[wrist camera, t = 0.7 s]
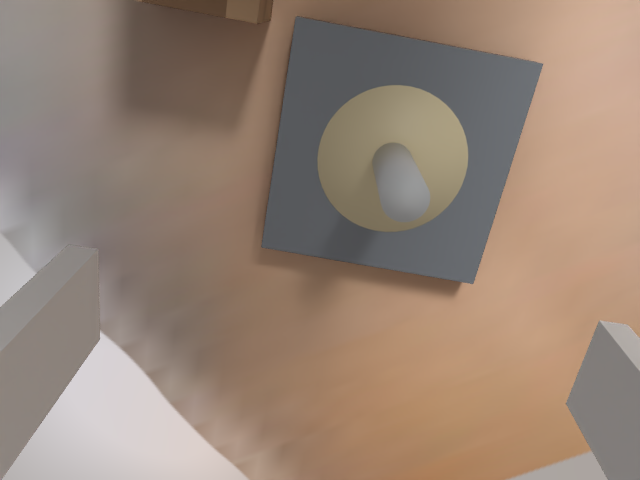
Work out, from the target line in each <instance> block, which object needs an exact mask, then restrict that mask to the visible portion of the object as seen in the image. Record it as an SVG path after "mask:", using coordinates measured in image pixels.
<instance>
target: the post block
mask: <svg viewBox="0 0 640 480" xmlns="http://www.w3.org/2000/svg"><path fill="white" fill-rule="evenodd" d="M542 66H543V64H541V63H538V62H534V61H529V60H524V59H519V58H513V57H508V56H503V55H498V54H493V53H487V52H482V51H477V50H472V49H466V48H461V47H456V46H451V45H445V44H440V43H435V42H430V41H425V40H419V39H414V38H409V37H404V36H398V35H393V34H388V33H383V32H377V31H372V30H367V29H362V28H357V27H351V26H346V25H341V24H336V23H330V22H325V21H320V20H315V19H309V18H304V17H299V16H297V17H296V19H295V25H294V32H293V39H292V45H291V52H290V59H289V66H288V72H287V79H286V86H285V92H284V99H283V106H282V112H281V119H280V126H279V132H278V139H277V146H276V153H275V159H274V166H273V173H272V179H271V186H270V193H269V199H268V206H267V213H266V219H265V226H264V233H263V240H262V246H261V247H262V248H268V249H274V250H280V251H285V252H291V253H297V254H303V255H309V256H314V257H320V258H326V259H332V260H337V261H343V262H349V263H355V264H360V265H366V266H372V267H378V268H384V269H389V270H395V271H401V272H407V273H412V274H418V275H424V276H430V277H436V278H441V279H447V280H453V281H459V282H464V283H470V284H473V283H474V280H475V277H476V274H477V271H478V267H479V264H480V261H481V258H482V255H483V252H484V249H485V245H486V242H487V239H488V236H489V233H490V230H491V227H492V223H493V220H494V217H495V214H496V211H497V208H498V204H499V201H500V198H501V195H502V192H503V189H504V186H505V182H506V179H507V176H508V173H509V170H510V167H511V164H512V160H513V157H514V154H515V151H516V148H517V145H518V142H519V138H520V135H521V132H522V129H523V126H524V123H525V120H526V116H527V113H528V110H529V107H530V104H531V101H532V98H533V94H534V91H535V88H536V85H537V82H538V79H539V75H540V72H541V69H542Z"/></svg>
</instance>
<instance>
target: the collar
mask: <svg viewBox="0 0 640 480" xmlns="http://www.w3.org/2000/svg"><path fill="white" fill-rule="evenodd" d="M135 1H140V2H145V3H150V4H156V5H161V6H166V7H171V8H177V9H182V10H187V11H192V12H198V13H203V14H208V15H214V16H219V17H224V18H229V19H235V20H240V21H245V22H250V23H256V24H258V23H262V22H266V21H270V20H271V13H272V5H273V0H135Z"/></svg>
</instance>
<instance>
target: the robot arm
mask: <svg viewBox="0 0 640 480" xmlns="http://www.w3.org/2000/svg"><path fill="white" fill-rule="evenodd" d="M99 340H100V318H99V258H98V249H95V248H88V247H81V246H74V245H68V246H66V247H65V248H64V249H63V250H62V251H61V252H60V253H59V254H58V255H57V256H56V257H54V258H53V259H52V260H51V261H50V262H49V263H48V264H47V265H46V266H45V267H44V268H43V269H41V270H40V271H39V272H38V273H37V274H36V275H35V276H34V277H33V278H32V279H31V280H29V282H27V283H26V284H25V285H24V286H23V287H22V288H21V289H20V290H19V291H17V292H16V293H15V294H14V295H13V296H12V297H11V298H10V299H9V300H8V301H7V302H6V303H5V304H3V305H2V306H1V307H0V480H2V478H3V476H4V475H5V474H6V473H7V471H8V470H9V468H10V467H11V466H12V464H13V463H14V461H15V460H16V458H17V457H18V456H19V454H20V453H21V451H22V450H23V448H24V447H25V445H26V444H27V443H28V441H29V440H30V438H31V437H32V435H33V434H34V433H35V431H36V430H37V428H38V427H39V425H40V424H41V423H42V421H43V420H44V418H45V417H46V415H47V414H48V413H49V411H50V410H51V408H52V407H53V405H54V404H55V403H56V401H57V400H58V398H59V397H60V395H61V394H62V392H63V391H64V390H65V388H66V387H67V385H68V384H69V382H70V381H71V380H72V378H73V377H74V375H75V374H76V372H77V371H78V370H79V368H80V367H81V365H82V364H83V362H84V361H85V360H86V358H87V357H88V355H89V354H90V352H91V351H92V350H93V348H94V347H95V345H96V344H97V342H98V341H99ZM566 405H567V406H568V408H569V410H570V412H571V414H572V416H573V417H574V419H575V421H576V423H577V425H578V426H579V428H580V430H581V432H582V434H583V435H584V437H585V439H586V441H587V443H588V445H589V446H590V448H591V450H592V452H593V454H594V455H595V457H596V459H597V461H598V463H599V464H600V466H601V468H602V470H603V471H604V474H605V475H606V477H607V479H608V480H640V338H639V337H638V336H637V335H636V334H635V332H634V331H633V330H632V329H631V328H630V327H629V326H628V325H627V324H620V323H613V322H606V321H599V322H598V325H597V327H596V330H595V332H594V335H593V337H592V340H591V342H590V345H589V347H588V350H587V352H586V355H585V357H584V360H583V362H582V365H581V367H580V370H579V372H578V375H577V377H576V380H575V382H574V385H573V387H572V390H571V392H570V395H569V397H568V400H567V402H566Z"/></svg>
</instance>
